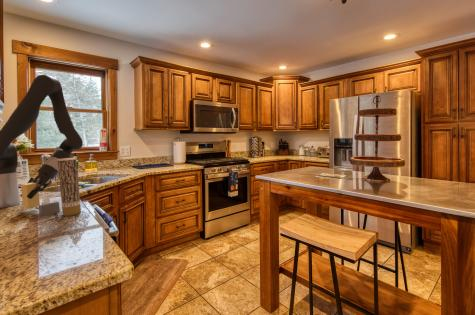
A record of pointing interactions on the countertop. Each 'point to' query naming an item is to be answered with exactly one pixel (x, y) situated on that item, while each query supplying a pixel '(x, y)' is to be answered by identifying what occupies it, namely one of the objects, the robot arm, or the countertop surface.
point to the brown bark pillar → (69, 186)
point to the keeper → (27, 201)
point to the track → (44, 209)
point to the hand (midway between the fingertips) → (25, 197)
